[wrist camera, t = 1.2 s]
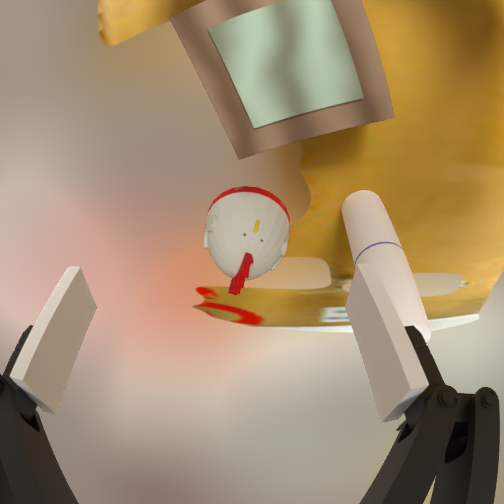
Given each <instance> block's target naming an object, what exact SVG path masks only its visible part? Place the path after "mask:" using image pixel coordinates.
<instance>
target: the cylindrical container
mask: <svg viewBox="0 0 504 504" xmlns="http://www.w3.org/2000/svg"><path fill="white" fill-rule="evenodd" d="M341 212H342V216H343V220H344V224H345V228H346V232H347V236H348V240H349V244H350V248H351V252H352V257H353V261H354V266H355V269H356V265H357V264H370V263H372V265H373V267H374V269H375V271H376V273H377V274H378V276H379V278H380V280H381V282H382V284H383V286H384V288H385V290H386V292H387V293H388V295H389V297H390V299H391V301H392V303H393V305H394V307H395V309H396V311H397V313H398V316H399V318H400V320H401V322H402V324H403V326H411V325H414V326H415V327H416V328H417V329H418V330H419V331H420V333H421V334H422V335H423V337H424V340H425V342H426V343H427V342H428V341H429V339H430V337H431V330H430V326H429V323H428V319H427V316H426V313H425V310H424V307H423V304H422V300H421V297H420V294H419V292H418V289H417V286H416V283H415V280H414V278H413V275H412V272H411V269H410V266H409V264H408V261H407V259H406V256H405V253H404V251H403V248H402V246H401V244H400V241H399V239H398V236H397V234H396V232H395V229H394V227H393V225H392V222H391V220H390V218H389V216H388V213H387V211H386V209H385V207H384V205H383V203H382V200H381V199H380V197H379V196H378V195H377V194H376V193H374V192H372V191H369V190H360V191H356V192H354V193H352V194H350V195H349V196H348V197H347V198H346V199H345V200H344V202H343V204H342V208H341Z"/></svg>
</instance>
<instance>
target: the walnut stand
mask: <svg viewBox="0 0 504 504" xmlns="http://www.w3.org/2000/svg"><path fill="white" fill-rule="evenodd" d="M170 20H171V22H172V24H173V26H174V28H175V30H176V32H177V34H178V36H179V38H180V40H181V42H182V44H183V46H184V47H185V49H186V51H187V53H188V55H189V57H190V59H191V61H192V63H193V65H194V67H195V69H196V71H197V73H198V75H199V77H200V79H201V81H202V83H203V85H204V87H205V89H206V91H207V93H208V96H209V98H210V100H211V102H212V104H213V106H214V108H215V110H216V112H217V114H218V116H219V118H220V120H221V122H222V124H223V126H224V128H225V131H226V133H227V135H228V137H229V139H230V141H231V143H232V145H233V148H234V150H235V152H236V154H237V156H238V158H239V159H242V158H246V157H249V156H252V155H255V154H258V153H261V152H264V151H267V150H270V149H274V148H277V147H280V146H284V145H287V144H291V143H294V142H297V141H301V140H305V139H308V138H312V137H316V136H319V135H323V134H327V133H331V132H335V131H339V130H343V129H347V128H351V127H355V126H360V125H364V124H369V123H373V122H378V121H383V120H387V119H392V118H395V117H394V112H393V107H392V103H391V98H390V94H389V89H388V85H387V81H386V77H385V73H384V70H383V66H382V62H381V59H380V55H379V52H378V49H377V45H376V42H375V39H374V36H373V33H372V30H371V27H370V24H369V21H368V18H367V16H366V13H365V10H364V7H363V5H362V2H361V0H206V1H204V2H202V3H199V4H197V5H195V6H193V7H191V8H189V9H186V10H184V11H182V12H180V13H178V14H176V15H174V16H173V17H171V18H170Z"/></svg>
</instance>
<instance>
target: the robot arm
mask: <svg viewBox="0 0 504 504" xmlns="http://www.w3.org/2000/svg"><path fill="white" fill-rule="evenodd" d="M345 308H346V311H347V314H348V316H349V319H350V322H351V325H352V328H353V331H354V334H355V336H356V340H357V343H358V346H359V349H360V352H361V355H362V358H363V361H364V364H365V368H366V371H367V374H368V377H369V380H370V384H371V387H372V391H373V394H374V398H375V401H376V404H377V408H378V412H379V415H380V419H381V422H382V423H383V422H388V421H392V420H396V419H399V418H400V417H401V415H402V414H403V413H405V416H406V420H405V421H404V422H403V423H402V424H401V425H400V426H399V427H398V428H397V431H399V430H400V429H401V430H400V432H399V434H398V436H397V438H396V441H395V442H394V445H393V446H392V448H391V451H390V452H389V455H388V456H387V458H386V460H385V462H384V463H383V465H382V467H381V469H380V471H379V473H378V474H377V476H376V478H375V480H374V481H373V483H372V485H371V486H370V488H369V489H368V491H367V493H366V494H365V496H364V497H363V499H362V500H361V502H360V504H423V502H424V500H425V498H426V496H427V494H428V492H429V490H430V487H431V485H432V483H433V481H434V478H435V476H436V479H435V484H434V488H433V493H432V497H431V501H430V504H493V503H494V497H495V490H496V483H497V473H498V462H499V443H500V414H499V399H498V396H497V394H496V392H495V391H493V390H492V389H491V388H488V387H482V388H481V389H479V390H478V391H477V392H476V393H475V394H464V393H457V391H456V390H455V389H454V388H452V387H451V386H448V385H446V384H445V383H444V381H443V379H442V377H441V374H440V372H439V370H438V368H437V365H436V363H435V361H434V359H433V356H432V354H430V350H429V348H428V346H427V345H426V342H425V340H424V337H423V335H422V334H421V333H420V331H419V330H418V329H417V328H416V327H415V326H414V325H411V326H403V324H402V322H401V320H400V318H399V316H398V313H397V311H396V309H395V307H394V305H393V303H392V301H391V299H390V297H389V295H388V293H387V292H386V290H385V288H384V286H383V284H382V282H381V280H380V278H379V276H378V274H377V273H376V271H375V269H374V267H373V265H372V263H370V264H357V265H356V269H355V273H354V277H353V280H352V284H351V287H350V291H349V294H348V298H347V301H346V305H345ZM96 309H97V306H96V304H95V302H94V299H93V297H92V295H91V292H90V290H89V287H88V285H87V282H86V280H85V278H84V275H83V272H82V270H81V267H68V268H67V270H66V271H65V273H64V274H63V276H62V278H61V279H60V281H59V282H58V284H57V286H56V287H55V289H54V291H53V292H52V294H51V296H50V297H49V299H48V301H47V303H46V304H45V306H44V308H43V310H42V311H41V313H40V315H39V317H38V319H37V321H36V322H35V324H34V326H32V325H30V326H29V327H28V328H27V329H26V330H25V332H23V334H22V336H21V338H20V340H19V343H18V344H17V346H16V348H15V351H14V352H13V354H12V356H11V358H10V360H9V362H8V364H7V367H6V369H5V371H4V374H3V375H1V374H0V504H79V503H78V502H77V500H76V498H75V496H74V494H73V493H72V491H71V489H70V487H69V486H68V483H67V481H66V479H65V477H64V475H63V473H62V471H61V469H60V467H59V464H58V462H57V460H56V458H55V455H54V453H53V451H52V448H51V446H50V443H49V441H48V439H47V436H46V433H45V431H44V428H43V425H42V422H41V419H40V417H39V414H38V412H37V411H36V407H37V405H38V406H39V407H40V408H41V409H42V410H43V411H45V412H48V413H51V414H55V415H57V413H58V410H59V407H60V404H61V400H62V397H63V394H64V391H65V388H66V385H67V382H68V379H69V377H70V374H71V371H72V368H73V365H74V362H75V360H76V357H77V355H78V352H79V349H80V347H81V344H82V342H83V339H84V337H85V334H86V332H87V330H88V327H89V325H90V322H91V320H92V318H93V315H94V313H95V311H96Z"/></svg>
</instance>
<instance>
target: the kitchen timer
mask: <svg viewBox="0 0 504 504" xmlns="http://www.w3.org/2000/svg"><path fill="white" fill-rule="evenodd" d="M289 227H290V222H289V215H288V212H287V209H286V207H285V206H284V204H283V203H282V202H281V200H280V199H279V198H277V197H276V196H275V195H273V194H272V193H270V192H268V191H266V190H263V189H260V188H257V187H247V186H243V187H236V188H232V189H230V190H227V191H225V192H223V193H221V194H220V196H218V197H217V198H216V199H215V200H214V201H213V203H212V205H211V206H210V208H209V211H208V214H207V219H206V224H205V233H204V249H206V248H208V249H209V252H210V255H211V257H212V259H213V260H214V262H215V264H216V265H217V267H218V268H219V269H220V270H221V271H222V272H223V273H225V274H226V275H227V276H229V277H231V278H232V281H231V284H230V288H229V292H228V293H231V294H235V295H237V294H240V290H241V288H243V287H244V282H245V280H251V279H255V278H258V277H259V276H261V275H263V274H265V273H266V272H268V271H269V270H271V271H272V270H274V269H275V268H276V266H277V265H278V263H279V262H280V260H281V259H282V258H283V257H284V256H285V254H286V250H287V245H288V237H289Z"/></svg>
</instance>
